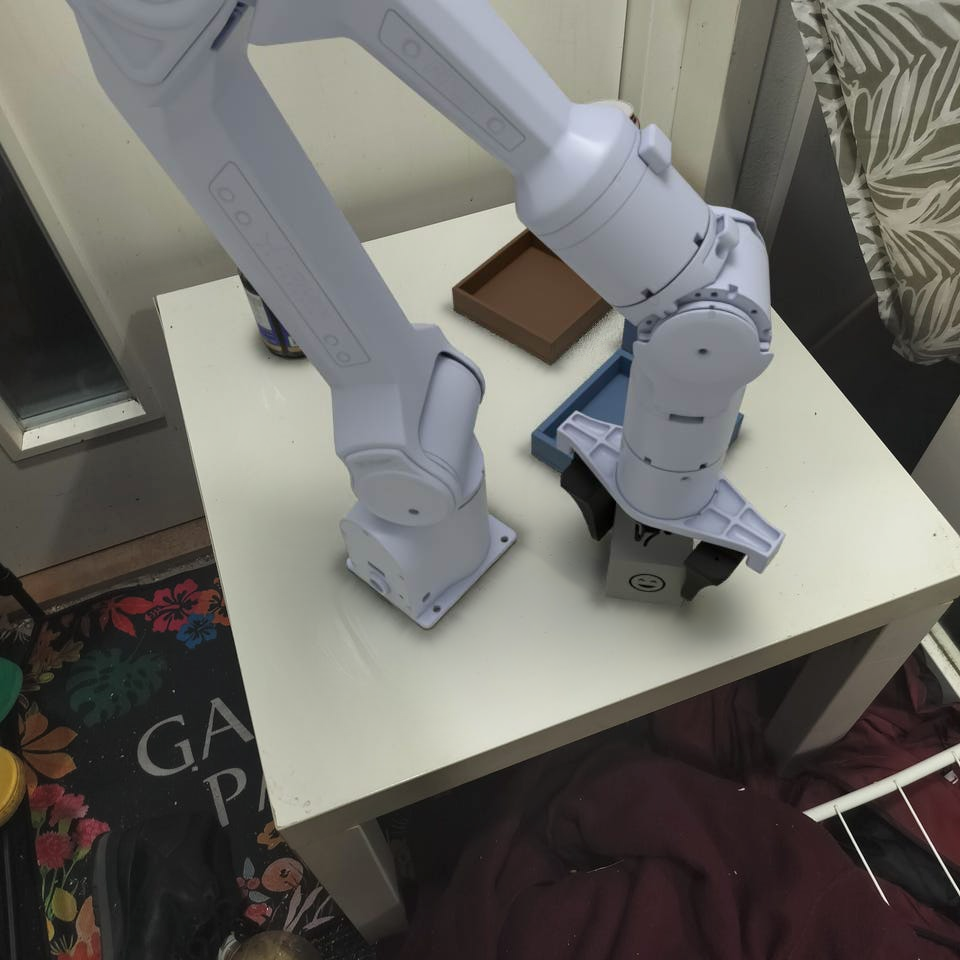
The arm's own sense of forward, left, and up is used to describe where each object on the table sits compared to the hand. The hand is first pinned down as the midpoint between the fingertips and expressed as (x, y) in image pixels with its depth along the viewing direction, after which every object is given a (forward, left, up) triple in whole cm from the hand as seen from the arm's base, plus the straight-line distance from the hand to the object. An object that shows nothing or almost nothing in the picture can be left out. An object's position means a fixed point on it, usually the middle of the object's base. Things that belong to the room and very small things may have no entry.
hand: (647, 559), depth 56 cm
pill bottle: (0, +36, -2) cm, 36 cm away
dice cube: (0, 0, -2) cm, 2 cm away
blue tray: (+8, +7, -1) cm, 11 cm away
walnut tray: (+16, +22, -1) cm, 28 cm away
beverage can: (+27, +24, -2) cm, 36 cm away
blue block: (+18, +11, -1) cm, 22 cm away
